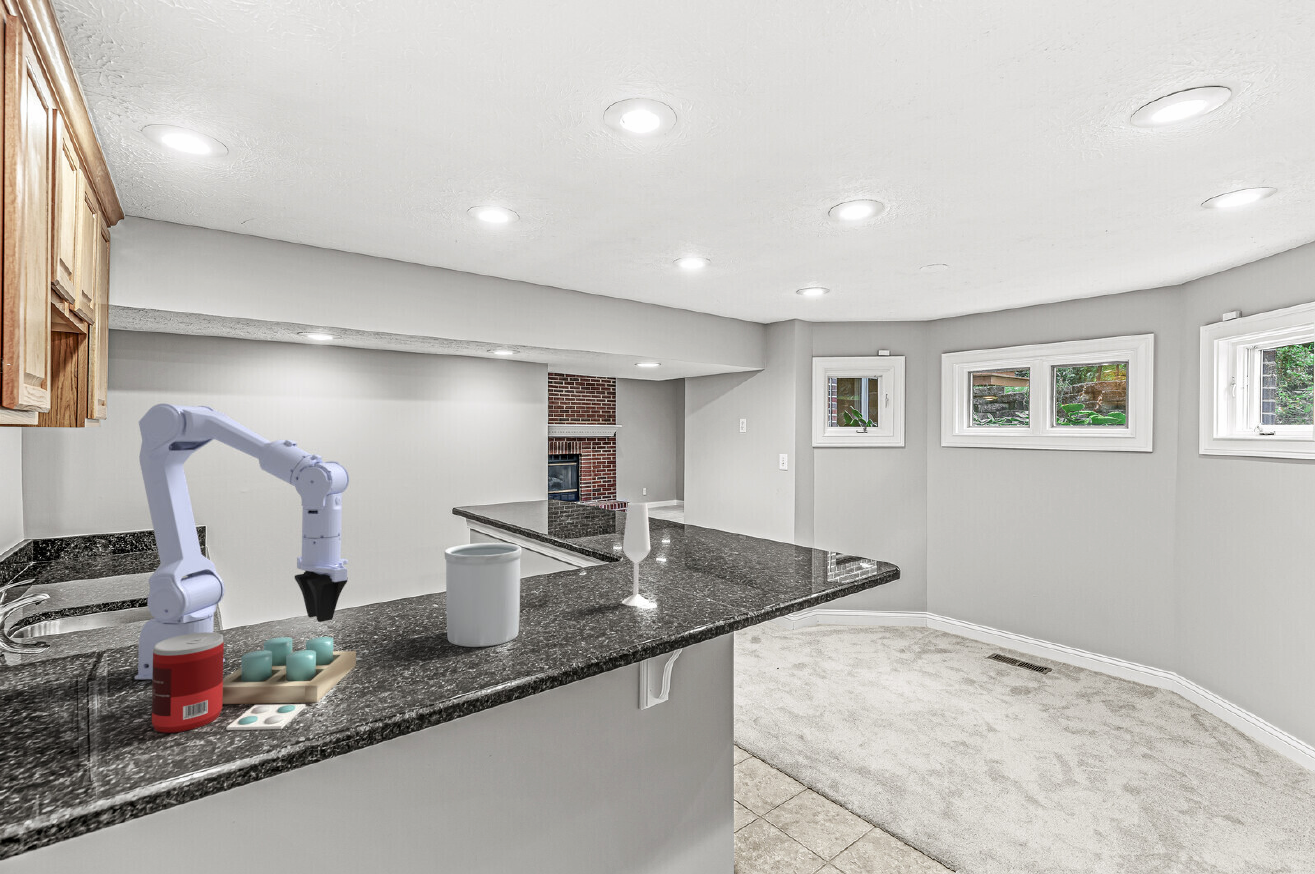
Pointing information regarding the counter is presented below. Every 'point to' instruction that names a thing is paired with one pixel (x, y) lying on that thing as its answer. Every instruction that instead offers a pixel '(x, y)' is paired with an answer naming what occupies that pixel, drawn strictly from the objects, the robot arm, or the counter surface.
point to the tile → (266, 717)
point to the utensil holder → (482, 593)
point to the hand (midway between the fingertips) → (320, 618)
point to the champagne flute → (636, 545)
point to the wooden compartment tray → (288, 683)
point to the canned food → (187, 681)
